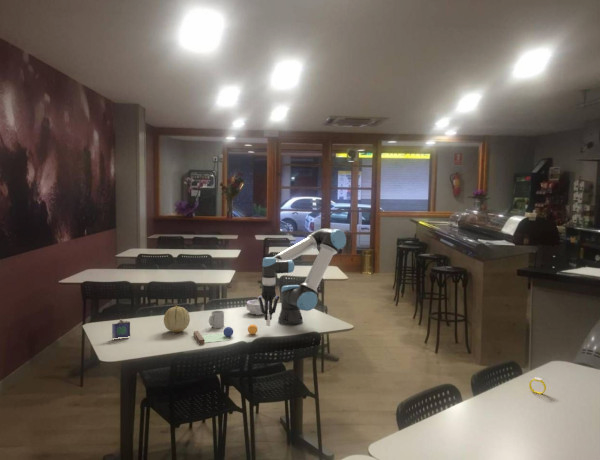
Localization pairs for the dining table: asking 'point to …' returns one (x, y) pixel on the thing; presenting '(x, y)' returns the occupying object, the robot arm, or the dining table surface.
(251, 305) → the paper bowls
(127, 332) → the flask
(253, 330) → the orange ball
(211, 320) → the cup
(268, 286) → the robot arm
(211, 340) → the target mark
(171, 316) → the cantaloupe
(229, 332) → the navy ball
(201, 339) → the backstop rail
